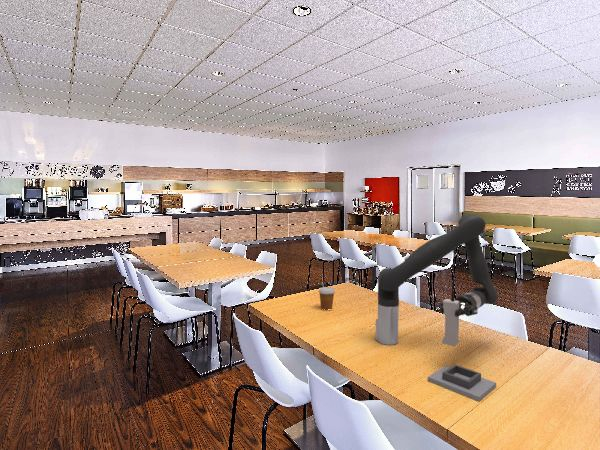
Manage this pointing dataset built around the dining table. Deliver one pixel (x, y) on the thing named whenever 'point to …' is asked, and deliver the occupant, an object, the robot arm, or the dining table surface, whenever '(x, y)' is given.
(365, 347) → the dining table surface
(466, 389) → the dock board
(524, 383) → the dining table surface
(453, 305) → the vintage mobile phone
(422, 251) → the robot arm
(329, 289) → the disposable coffee cup
